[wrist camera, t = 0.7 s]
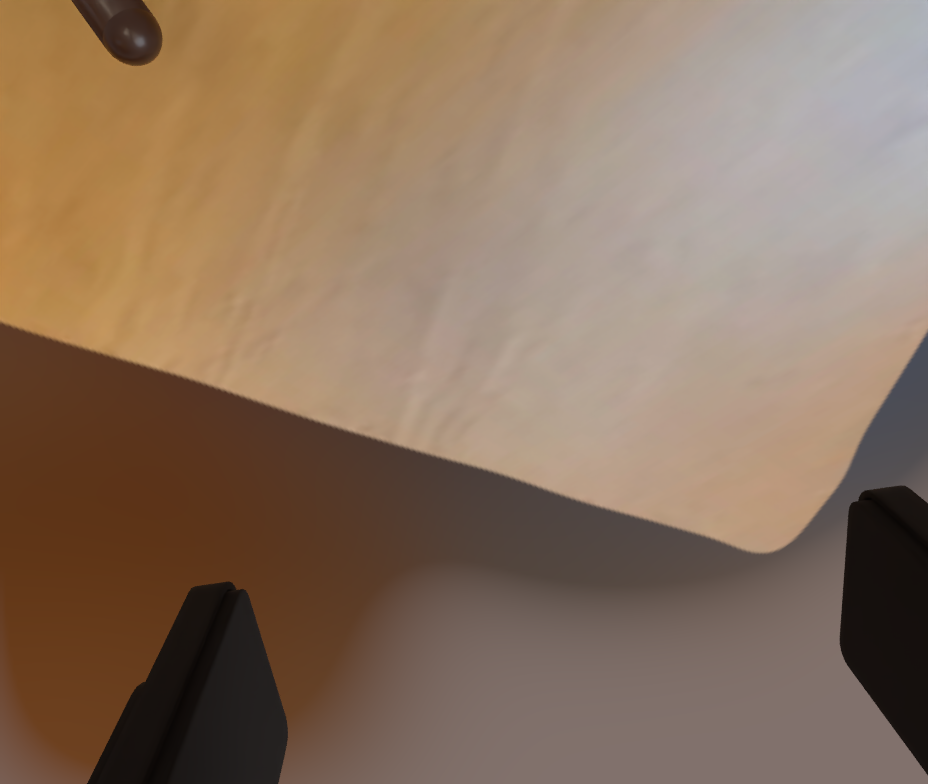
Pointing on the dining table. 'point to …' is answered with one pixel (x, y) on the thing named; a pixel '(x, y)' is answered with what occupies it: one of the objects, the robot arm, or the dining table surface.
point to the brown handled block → (124, 28)
